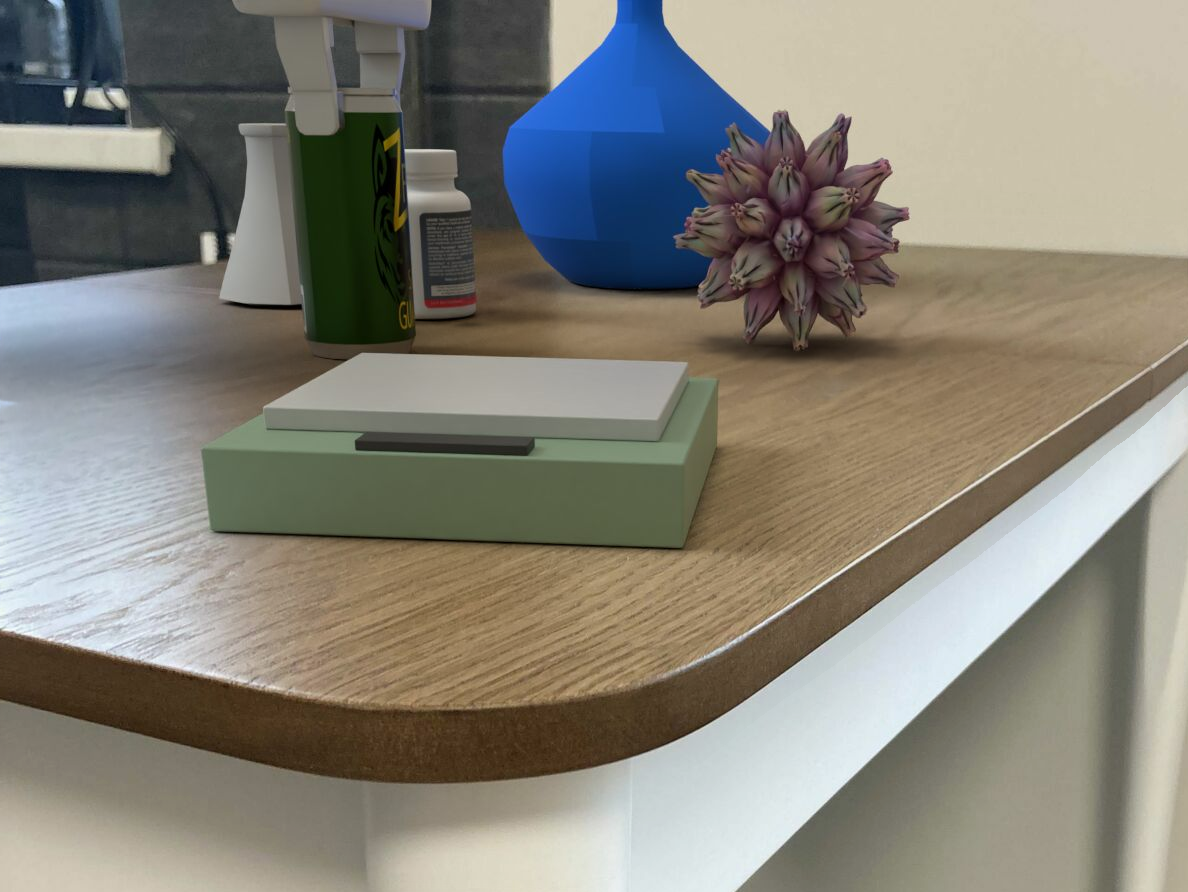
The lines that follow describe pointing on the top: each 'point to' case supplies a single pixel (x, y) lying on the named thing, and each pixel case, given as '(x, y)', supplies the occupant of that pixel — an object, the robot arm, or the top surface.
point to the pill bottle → (439, 236)
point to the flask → (265, 225)
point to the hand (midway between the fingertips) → (353, 132)
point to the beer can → (354, 229)
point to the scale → (474, 452)
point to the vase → (622, 158)
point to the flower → (792, 229)
